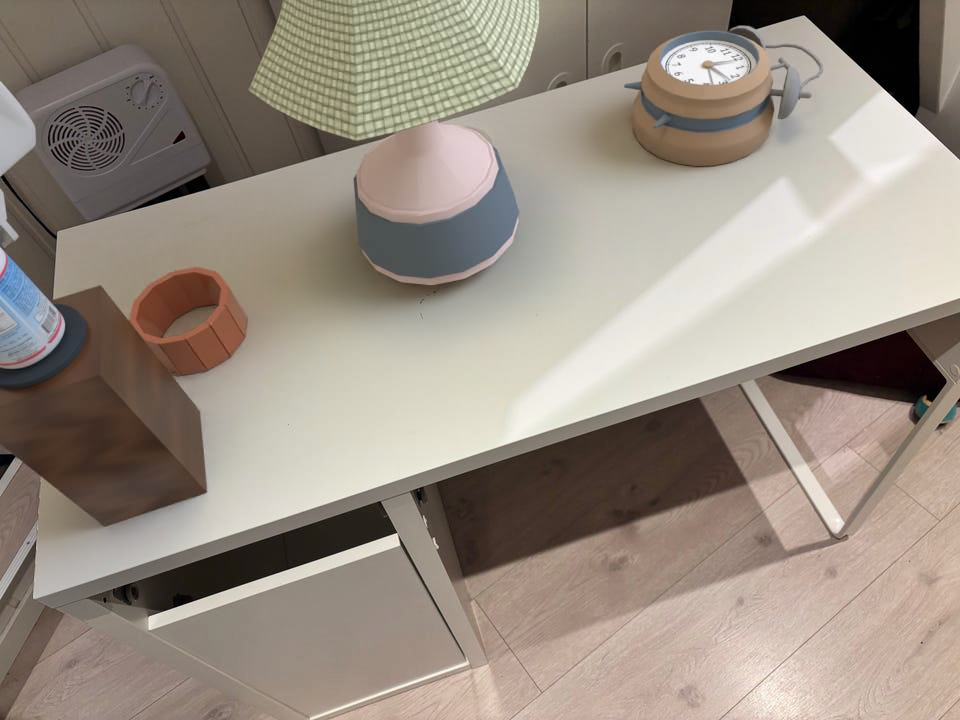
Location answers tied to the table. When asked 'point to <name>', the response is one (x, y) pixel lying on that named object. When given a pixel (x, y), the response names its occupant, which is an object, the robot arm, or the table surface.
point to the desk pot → (174, 300)
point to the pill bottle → (25, 318)
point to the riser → (108, 422)
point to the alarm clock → (712, 96)
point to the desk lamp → (409, 118)
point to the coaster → (50, 354)
